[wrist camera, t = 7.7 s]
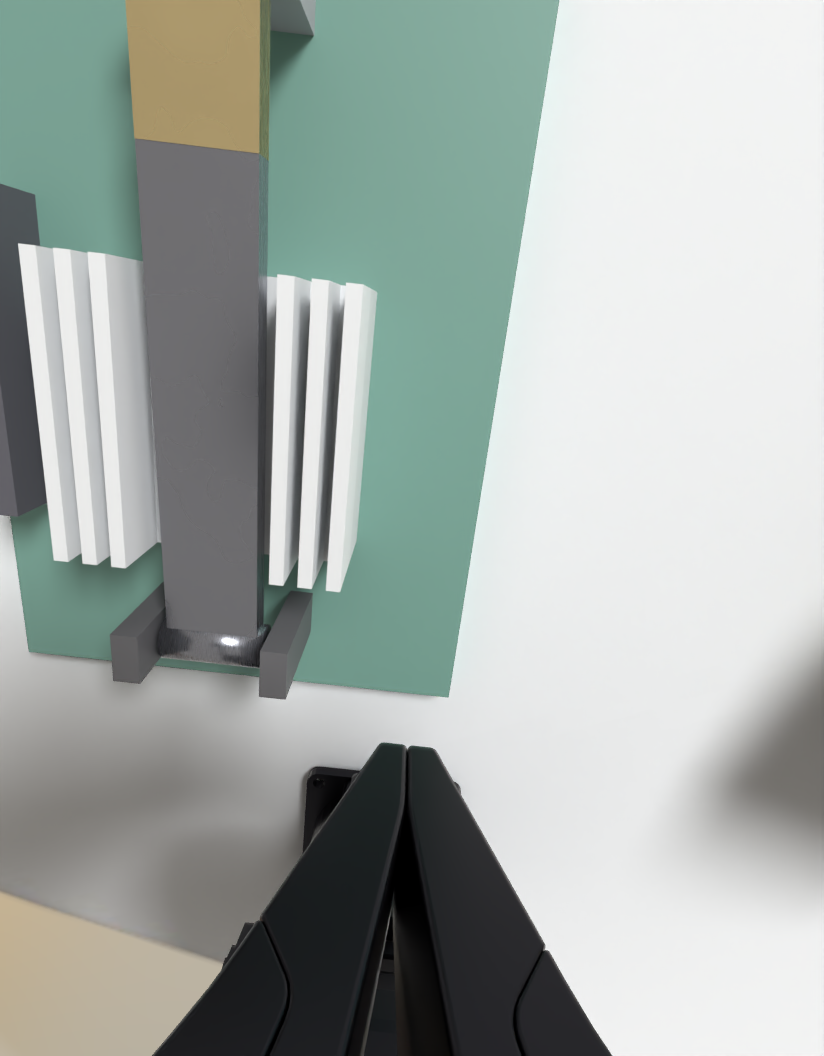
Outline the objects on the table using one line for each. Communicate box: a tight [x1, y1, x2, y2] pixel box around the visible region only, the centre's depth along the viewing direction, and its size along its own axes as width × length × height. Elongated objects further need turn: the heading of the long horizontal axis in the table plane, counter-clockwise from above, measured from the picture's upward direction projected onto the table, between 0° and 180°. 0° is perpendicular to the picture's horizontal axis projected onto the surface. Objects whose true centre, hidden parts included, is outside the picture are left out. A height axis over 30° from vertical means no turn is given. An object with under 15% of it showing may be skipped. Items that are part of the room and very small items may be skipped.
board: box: [0, 0, 559, 699], centre depth 17 cm, size 22×16×5 cm
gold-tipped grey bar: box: [125, 0, 271, 668], centre depth 15 cm, size 17×3×1 cm, turn 174°
